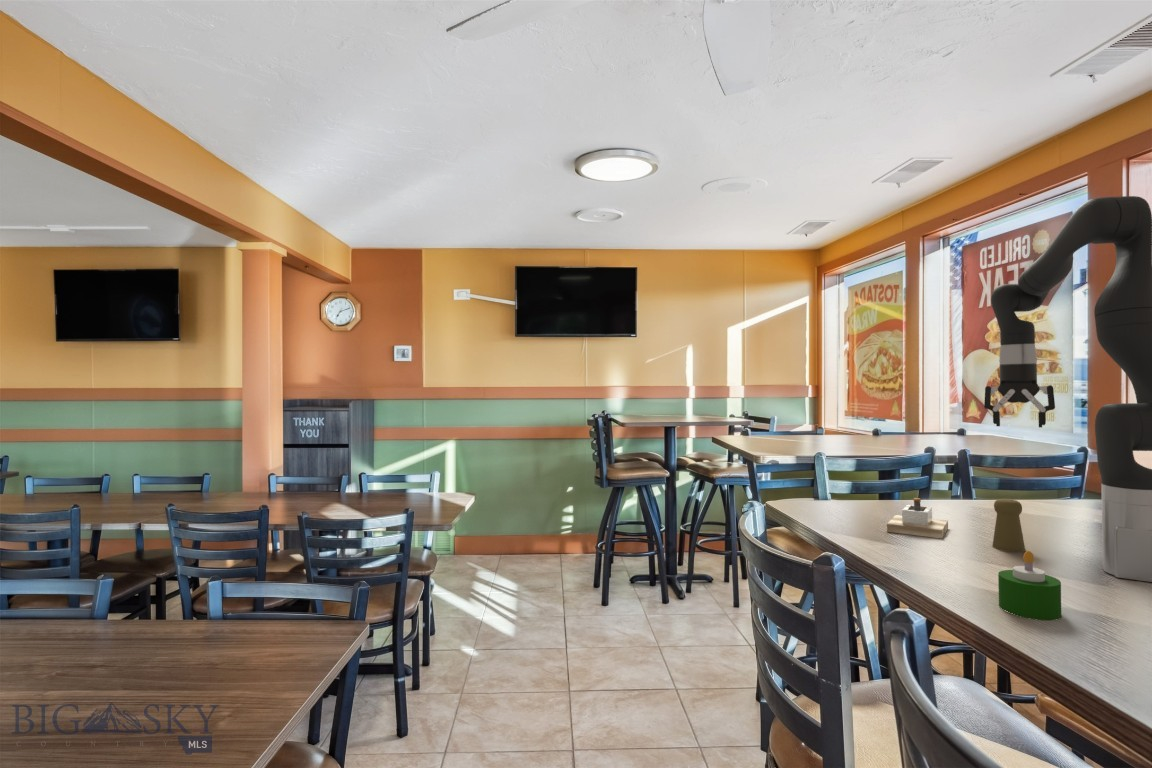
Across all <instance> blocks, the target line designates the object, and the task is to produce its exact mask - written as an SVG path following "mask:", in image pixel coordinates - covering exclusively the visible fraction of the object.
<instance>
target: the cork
mask: <svg viewBox="0 0 1152 768" xmlns="http://www.w3.org/2000/svg"><path fill="white" fill-rule="evenodd" d="M993 509H994V512H995V513H996V519H995V525H994V533H993V538H992V539H993V540H992V547H993V548H994V549H997V550H1001V551H1005V552H1013V553H1014V552H1016V553H1017V552H1018V553H1019V552H1020V553H1021V552H1024V551H1025V552H1026V546H1025V542H1024V541H1025V540H1024V534H1023V530H1022V529H1023V528H1022V524H1021V518H1020V515H1021V514H1022V512H1023V506H1022V504H1021V502H1020V501H1018V500H1015V499H1010V498H999V499H996V500H994V503H993Z"/></svg>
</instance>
